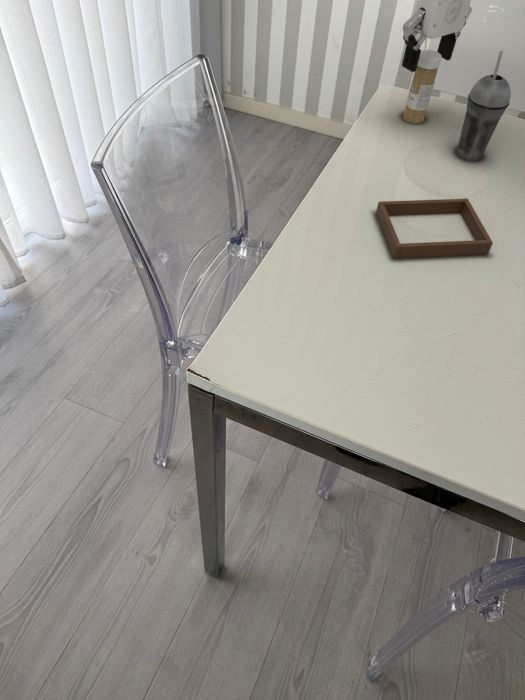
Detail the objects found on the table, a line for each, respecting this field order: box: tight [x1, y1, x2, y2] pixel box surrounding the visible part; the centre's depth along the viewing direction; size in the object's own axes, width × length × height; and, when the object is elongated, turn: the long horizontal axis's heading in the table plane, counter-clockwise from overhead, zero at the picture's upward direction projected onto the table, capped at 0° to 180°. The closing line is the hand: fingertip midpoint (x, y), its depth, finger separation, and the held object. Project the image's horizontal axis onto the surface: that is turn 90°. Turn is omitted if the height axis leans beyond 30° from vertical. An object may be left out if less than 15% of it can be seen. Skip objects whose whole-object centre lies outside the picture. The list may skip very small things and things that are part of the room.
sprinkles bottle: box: [402, 49, 443, 124], centre depth 113 cm, size 5×5×14 cm
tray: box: [375, 198, 494, 260], centre depth 93 cm, size 16×12×3 cm
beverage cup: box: [456, 50, 512, 162], centre depth 102 cm, size 7×7×20 cm
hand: (426, 63), depth 109 cm, fingers open, 9 cm apart
